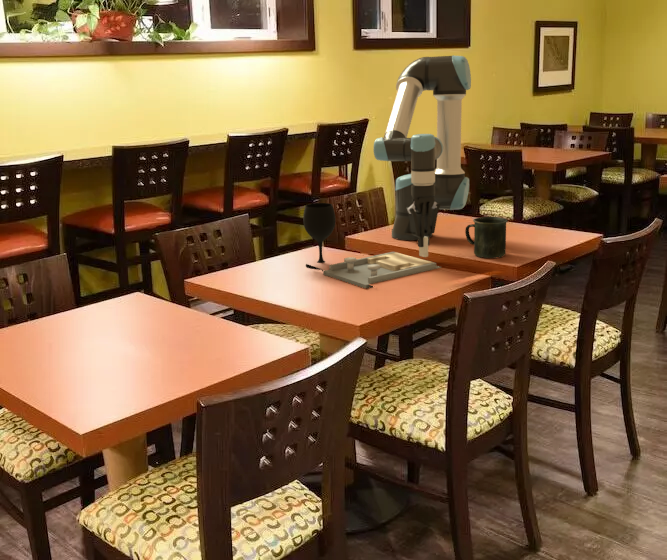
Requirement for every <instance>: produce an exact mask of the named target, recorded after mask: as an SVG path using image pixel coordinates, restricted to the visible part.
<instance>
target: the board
mask: <svg viewBox="0 0 667 560" xmlns="http://www.w3.org/2000/svg"><path fill="white" fill-rule="evenodd" d="M391 253H396V251H389V252H385V253H380V254H376V255H371V256H367V257H362V258H356V257H354V256H353V257H352V256H351V257H350V256H349V257H345V258H344V259H343V261H342V262H337V263H333V264H329V265H328V267H329V269H326V270H322V273H323V275H324V276H326V277H328V278H329V277H330V278H332V277H333V279H335V278H336V279H335V280H338V279H339V280H338V281H341V280H342V281H341V282H344V281H345V282H344V283H347V282H348V283H347V284H350V283H351V284H350V285H353V284H354V286H356V285H357V286H356V287H359V286H360V287H359V288H362V287H363V288H362V289H364V288H368V289H370V288H369V287H372V288H374V287H373V286H374V285H373V284H378V283H381V282H385V281H390V280H393V279H398V278H402V277H407V276H412V275H415V274H420V273H423V272H427V271H432V270H437V269H441V268H442V266H439V265H437V262H433V263H430V264H425V265H421V266H416V267H412V268H408V269H403V270H397V271H392V270H388V269H385V268H382V267H380V265H378V264H376V263H373V264H368V259H367V258H372V257H377V256H382V255H386V254H391Z"/></svg>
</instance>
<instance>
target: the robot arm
mask: <svg viewBox="0 0 667 560" xmlns="http://www.w3.org/2000/svg"><path fill="white" fill-rule="evenodd" d="M471 87H472V76H471V69H470V64H469V60H468V59H467V57H465V56H463V55H443V56H442V55H441V56H440V55H439V56H422V57H419V58H417V59H414V60H413V61H412V62H411V63H409V64H407V66H406V67H405V68H404V69H403V70H402V71H401V73H400V74H399V76H398V78H397V80H396V83H395V89H396V93H395V98H394V102H393V105H392V108H391V110H390V111H391V112H390V115H389V119H388V121H387V125H386V128H385V132H384V135H383V137H377V138H376V139H375V140H374V142H373V155H374V159H376V161H379V162H380V161H381V162H384V161H385V162H410V165H411V166H410V167H411V169H410V171H411V172H410V173H408V174H404V175H401V176H399V177H397V178H396V179H395V189H394V191H395V219H394V223H393V227H392V229H391V238H393V239H396V240H401V241H417V247H418V255H419V257H422V258H428V257H429V246H430V238H431V237H433V234H435V232H436V227H437V225H436V224H437V219H438V213H439V210H449V211H453V210H462V209H463V208H464V207H465V206H466V204H467V200H468V197H469V196H468V195H469V191H470V178H469V177H468V176H466V175H465V173H466V172H465V170H463V168H462V166H461V164H462V163H461V161H462V160H461V159H462V105H463V104H462V103H463V102H462V100H463V99H464V98H465V96H466V95H467V91H469V90H470V89H471ZM424 91H432V96H433V97H434V99H436V102H437V104H436V105H437V106H436V112H437V113H436V114H437V115H436V136H435V135H434V134H432V133H417V134H413V135H412V136H411V137H408V134H409V130H410V127H411V124H412V120H413V116H414V113H415V109H416V105H417V102H418V98H419V97H421V95H422V93H423V92H424Z"/></svg>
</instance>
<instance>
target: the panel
mask: <svg viewBox="0 0 667 560" xmlns="http://www.w3.org/2000/svg"><path fill="white" fill-rule="evenodd" d="M367 259H368V264H373V263H376V264H378V265H380V267H382V268H385V269H388V270H392V271H397V270H403V269H408V268H412V267H416V266H421V265H425V264H430V263H434V262H433V261H430V260H428V259H427V260H426V259H422V258H419V257H416V256H410V255H407V254H403V253H400V252H397V251H395V253H391V254H386V255H382V256H377V257H372V258H367Z"/></svg>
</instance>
